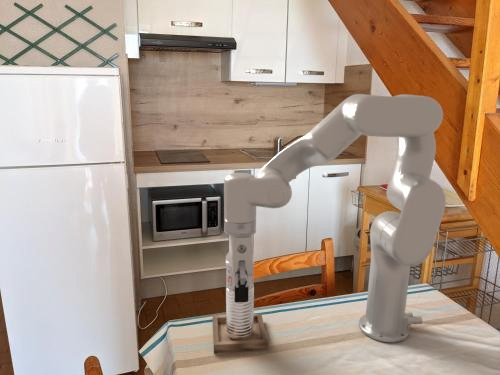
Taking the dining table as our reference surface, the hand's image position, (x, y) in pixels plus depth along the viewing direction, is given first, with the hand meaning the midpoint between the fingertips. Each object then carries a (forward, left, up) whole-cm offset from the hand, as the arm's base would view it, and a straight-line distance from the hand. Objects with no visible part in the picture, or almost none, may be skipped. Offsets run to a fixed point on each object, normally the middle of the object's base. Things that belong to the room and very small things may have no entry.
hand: (239, 291), depth 106 cm
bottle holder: (0, 0, -12) cm, 12 cm away
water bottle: (0, 0, -12) cm, 12 cm away
